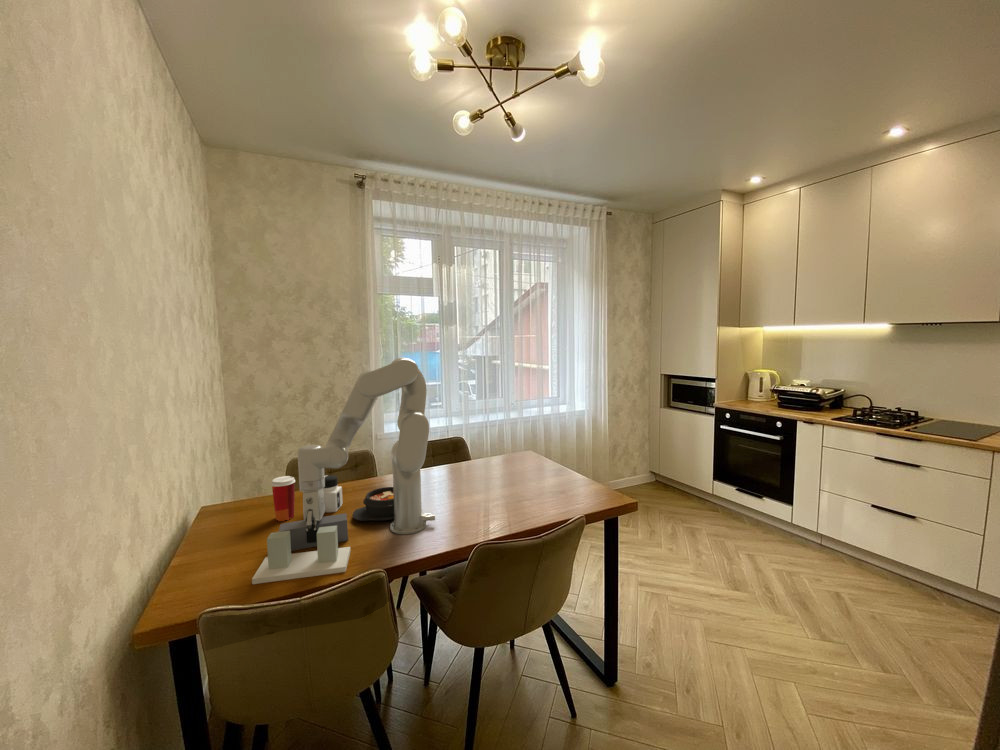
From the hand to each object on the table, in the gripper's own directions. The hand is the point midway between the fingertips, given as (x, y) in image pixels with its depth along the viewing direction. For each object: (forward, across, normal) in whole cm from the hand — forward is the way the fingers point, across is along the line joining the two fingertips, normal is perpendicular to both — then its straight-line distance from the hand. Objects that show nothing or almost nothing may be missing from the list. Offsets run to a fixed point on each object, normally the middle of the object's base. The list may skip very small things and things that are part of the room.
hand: (314, 536), depth 135 cm
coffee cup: (+2, +24, +15) cm, 28 cm away
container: (+2, +29, 0) cm, 29 cm away
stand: (+2, -15, 0) cm, 15 cm away
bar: (+2, 0, 0) cm, 2 cm away
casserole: (+3, +17, -22) cm, 28 cm away
